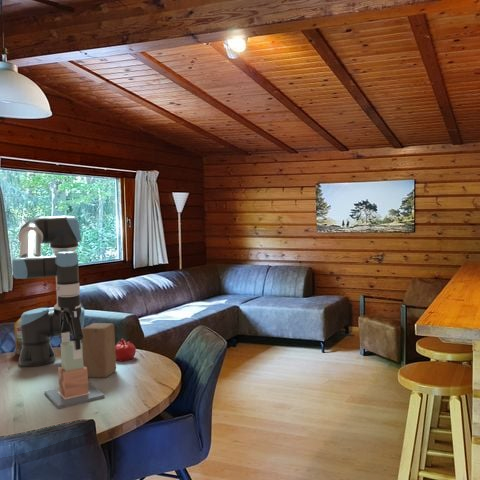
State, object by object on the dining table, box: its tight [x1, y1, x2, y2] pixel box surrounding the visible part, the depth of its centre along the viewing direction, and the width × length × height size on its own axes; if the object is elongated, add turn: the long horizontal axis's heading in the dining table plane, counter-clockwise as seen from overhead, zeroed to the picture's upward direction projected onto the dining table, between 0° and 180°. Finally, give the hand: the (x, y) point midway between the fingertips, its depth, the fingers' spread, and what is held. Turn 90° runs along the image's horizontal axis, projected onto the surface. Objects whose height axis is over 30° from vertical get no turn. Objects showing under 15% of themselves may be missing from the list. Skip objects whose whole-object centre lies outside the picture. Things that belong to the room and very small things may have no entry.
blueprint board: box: [44, 381, 105, 410], centre depth 185 cm, size 18×16×1 cm
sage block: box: [60, 340, 84, 372], centre depth 184 cm, size 6×6×9 cm
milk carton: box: [13, 311, 26, 356], centre depth 245 cm, size 11×11×19 cm
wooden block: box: [81, 322, 117, 379], centre depth 208 cm, size 10×10×20 cm
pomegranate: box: [115, 338, 137, 362], centre depth 229 cm, size 10×10×9 cm
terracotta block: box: [57, 365, 89, 398], centre depth 184 cm, size 8×8×9 cm
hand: (71, 354), depth 184 cm, fingers open, 13 cm apart
